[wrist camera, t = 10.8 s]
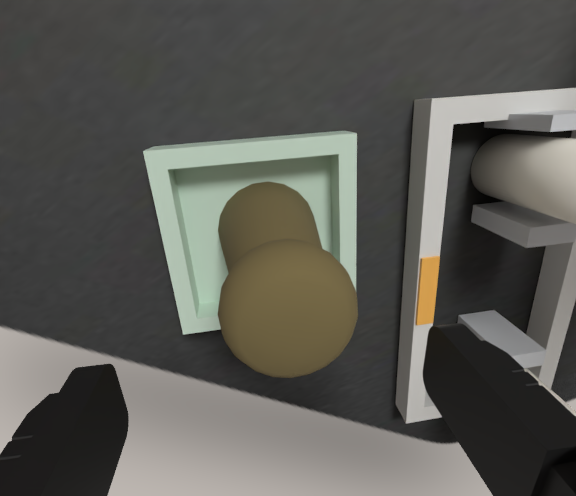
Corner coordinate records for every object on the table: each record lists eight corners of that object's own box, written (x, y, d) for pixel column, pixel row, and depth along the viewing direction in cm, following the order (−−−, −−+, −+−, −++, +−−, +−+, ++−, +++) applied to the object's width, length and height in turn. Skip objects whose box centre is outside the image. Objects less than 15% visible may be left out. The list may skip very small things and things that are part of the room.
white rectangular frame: (414, 99, 21) (465, 96, 16) (602, 85, 22) (699, 79, 17) (395, 404, 30) (424, 458, 25) (529, 381, 31) (581, 428, 26)
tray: (153, 146, 20) (142, 150, 17) (343, 130, 21) (356, 132, 19) (188, 313, 24) (183, 334, 22) (345, 292, 25) (355, 310, 23)
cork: (276, 289, 23) (307, 428, 13) (198, 240, 21) (164, 359, 11) (334, 219, 22) (418, 312, 12) (257, 160, 20) (279, 211, 10)
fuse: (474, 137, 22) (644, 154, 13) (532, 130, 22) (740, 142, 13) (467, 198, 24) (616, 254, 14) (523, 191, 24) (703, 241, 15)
